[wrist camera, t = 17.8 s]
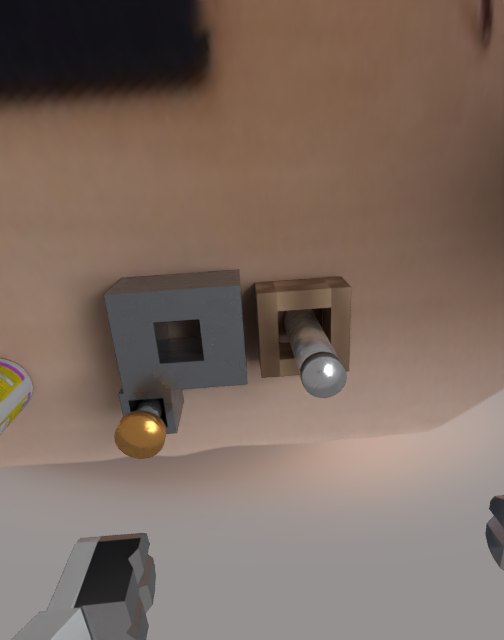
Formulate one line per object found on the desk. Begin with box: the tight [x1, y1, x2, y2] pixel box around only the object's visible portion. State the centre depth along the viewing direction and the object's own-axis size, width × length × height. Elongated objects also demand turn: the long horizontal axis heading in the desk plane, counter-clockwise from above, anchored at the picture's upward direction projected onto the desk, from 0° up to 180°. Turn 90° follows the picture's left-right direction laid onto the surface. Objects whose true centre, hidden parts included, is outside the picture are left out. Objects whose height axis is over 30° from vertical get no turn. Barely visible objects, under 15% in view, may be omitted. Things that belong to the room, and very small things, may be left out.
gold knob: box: [115, 398, 166, 459], centre depth 39 cm, size 4×4×6 cm
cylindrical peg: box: [284, 309, 347, 398], centre depth 37 cm, size 4×4×13 cm
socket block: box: [104, 270, 247, 434], centre depth 40 cm, size 12×15×6 cm
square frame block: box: [255, 277, 351, 378], centre depth 41 cm, size 9×9×4 cm
